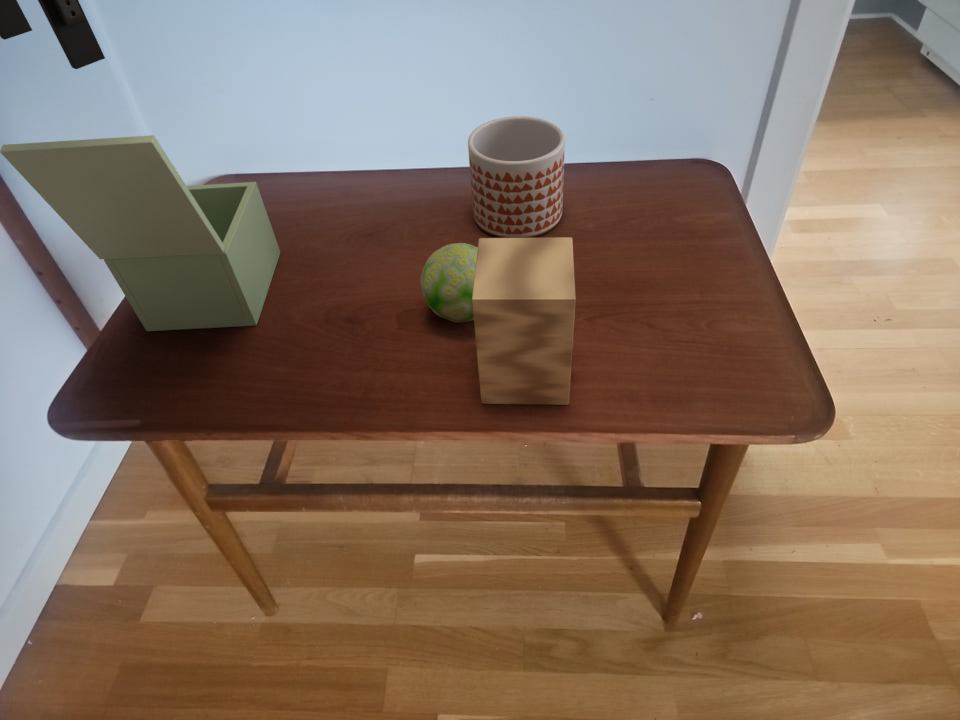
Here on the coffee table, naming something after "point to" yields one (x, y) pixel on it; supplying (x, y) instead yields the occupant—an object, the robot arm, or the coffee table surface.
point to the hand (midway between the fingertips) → (51, 48)
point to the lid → (117, 195)
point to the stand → (524, 319)
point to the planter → (517, 176)
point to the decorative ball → (450, 281)
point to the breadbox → (207, 268)
